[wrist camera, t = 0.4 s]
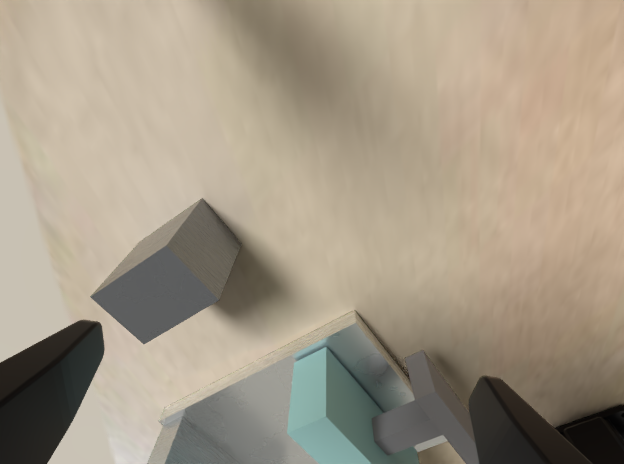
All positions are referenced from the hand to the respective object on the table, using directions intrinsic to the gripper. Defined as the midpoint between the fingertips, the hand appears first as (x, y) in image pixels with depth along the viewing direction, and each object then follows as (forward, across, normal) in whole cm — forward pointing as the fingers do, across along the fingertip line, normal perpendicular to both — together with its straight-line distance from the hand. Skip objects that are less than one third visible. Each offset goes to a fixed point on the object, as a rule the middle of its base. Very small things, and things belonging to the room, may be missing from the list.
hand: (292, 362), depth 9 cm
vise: (+13, -2, +19) cm, 23 cm away
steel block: (+13, +6, +5) cm, 16 cm away
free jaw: (+12, -8, +14) cm, 20 cm away
